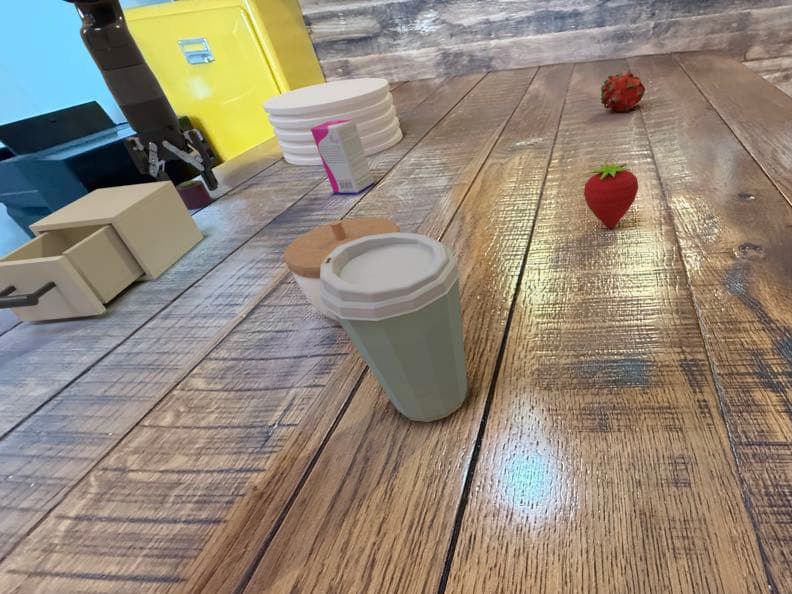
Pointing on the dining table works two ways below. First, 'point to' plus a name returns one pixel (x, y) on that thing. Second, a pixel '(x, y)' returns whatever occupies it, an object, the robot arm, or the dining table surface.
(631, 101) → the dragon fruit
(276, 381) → the dining table surface
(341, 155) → the supplement box
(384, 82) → the plate stack
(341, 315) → the disposable coffee cup
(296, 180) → the dining table surface
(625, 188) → the strawberry
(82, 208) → the cabinet
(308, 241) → the lidded bowl
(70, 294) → the drawer
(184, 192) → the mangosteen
